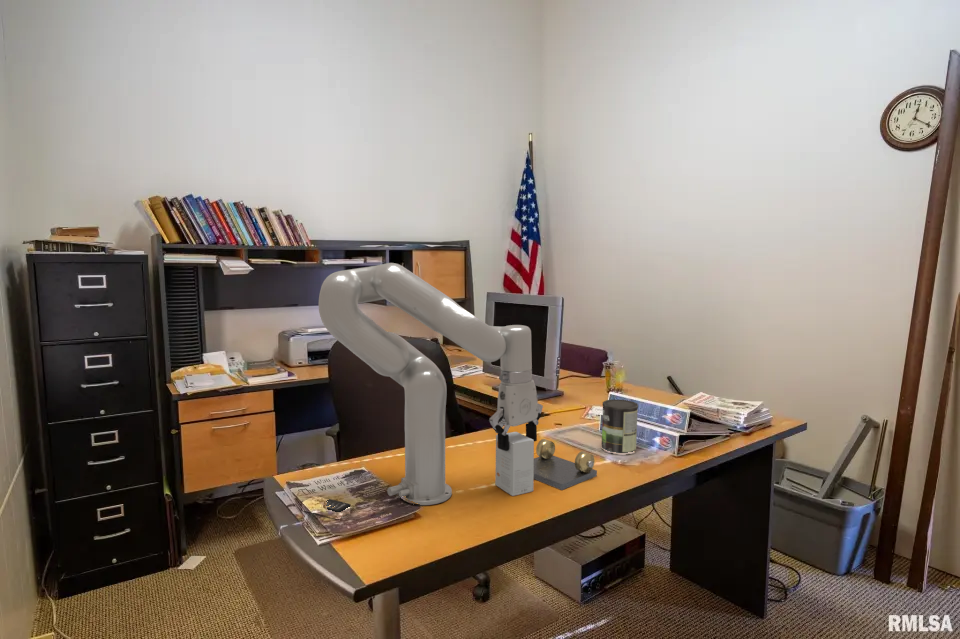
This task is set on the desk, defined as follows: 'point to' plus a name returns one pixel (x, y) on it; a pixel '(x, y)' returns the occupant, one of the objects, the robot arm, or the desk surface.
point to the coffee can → (619, 426)
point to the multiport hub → (337, 505)
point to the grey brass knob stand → (561, 467)
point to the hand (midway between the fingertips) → (517, 444)
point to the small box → (515, 465)
